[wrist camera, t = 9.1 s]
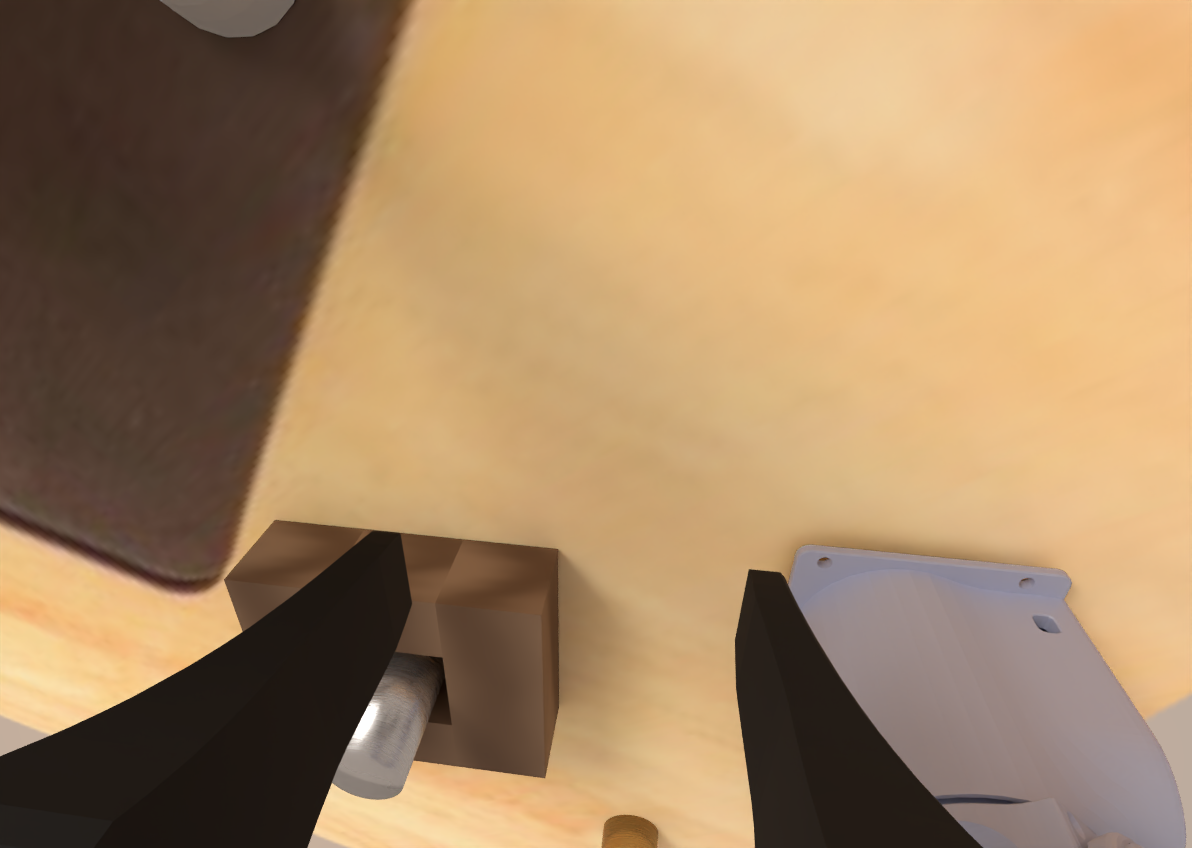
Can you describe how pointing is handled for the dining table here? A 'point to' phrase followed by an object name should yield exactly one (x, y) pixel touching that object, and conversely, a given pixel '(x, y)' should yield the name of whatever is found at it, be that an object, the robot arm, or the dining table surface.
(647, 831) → the brass pin
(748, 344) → the dining table surface
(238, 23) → the chalice
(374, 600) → the robot arm
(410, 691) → the steel pin
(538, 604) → the walnut block
